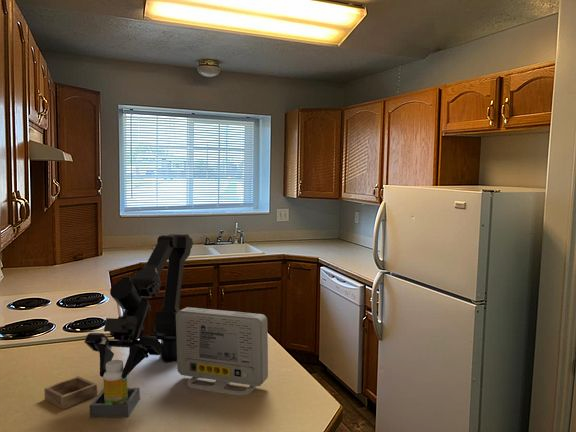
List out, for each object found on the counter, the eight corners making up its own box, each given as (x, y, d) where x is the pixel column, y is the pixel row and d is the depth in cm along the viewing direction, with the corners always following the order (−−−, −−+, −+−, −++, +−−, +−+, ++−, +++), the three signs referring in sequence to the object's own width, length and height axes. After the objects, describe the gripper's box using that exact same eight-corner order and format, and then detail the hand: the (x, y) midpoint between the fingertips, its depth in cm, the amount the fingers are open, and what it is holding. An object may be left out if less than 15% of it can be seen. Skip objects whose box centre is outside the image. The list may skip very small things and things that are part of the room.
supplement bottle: (127, 404, 113) (125, 365, 112) (103, 407, 111) (101, 368, 111) (128, 394, 118) (127, 357, 117) (106, 397, 117) (104, 359, 116)
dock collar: (104, 399, 119) (103, 385, 119) (139, 399, 119) (139, 385, 119) (90, 417, 110) (89, 402, 110) (128, 417, 110) (127, 402, 110)
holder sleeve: (78, 386, 127) (77, 376, 126) (97, 395, 121) (96, 384, 121) (44, 399, 119) (44, 388, 119) (63, 409, 114) (62, 397, 114)
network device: (271, 384, 127) (270, 312, 126) (258, 398, 119) (257, 321, 117) (189, 372, 136) (187, 304, 134) (172, 385, 127) (170, 313, 126)
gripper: (86, 301, 118) (60, 361, 108) (155, 304, 115) (134, 366, 105) (105, 322, 127) (82, 379, 117) (170, 325, 123) (152, 384, 113)
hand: (111, 377), depth 113 cm, fingers closed on supplement bottle, 5 cm apart
